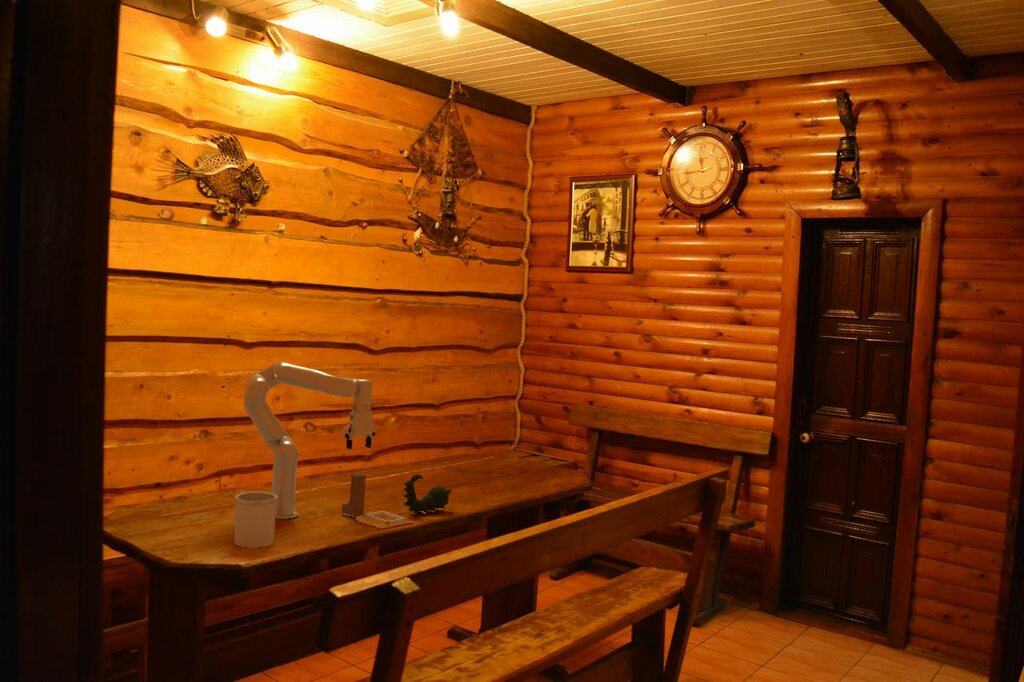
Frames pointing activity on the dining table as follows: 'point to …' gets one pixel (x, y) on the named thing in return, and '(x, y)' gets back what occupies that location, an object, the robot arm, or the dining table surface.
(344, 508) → the wooden block
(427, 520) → the dining table surface
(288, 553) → the dining table surface
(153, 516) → the dining table surface
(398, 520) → the dock tray
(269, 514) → the utensil holder
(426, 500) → the toy figurine
